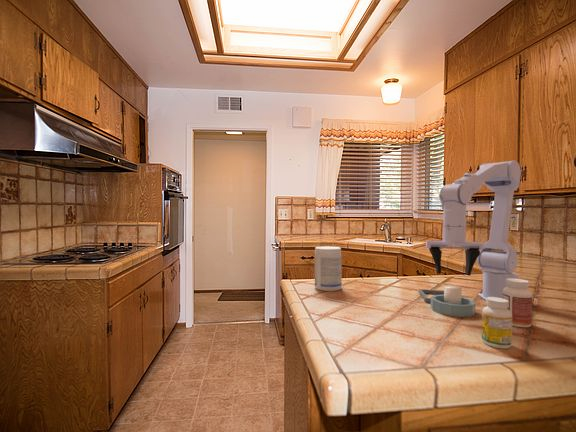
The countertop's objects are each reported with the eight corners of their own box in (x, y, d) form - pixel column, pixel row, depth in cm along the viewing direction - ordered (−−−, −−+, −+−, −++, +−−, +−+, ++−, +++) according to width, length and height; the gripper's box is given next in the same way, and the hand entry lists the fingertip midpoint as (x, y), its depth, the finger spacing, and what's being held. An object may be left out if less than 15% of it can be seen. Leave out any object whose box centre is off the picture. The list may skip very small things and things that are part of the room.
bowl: (467, 306, 96) (467, 296, 95) (480, 318, 85) (480, 307, 85) (427, 303, 98) (427, 293, 98) (435, 314, 87) (436, 303, 87)
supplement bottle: (509, 351, 65) (511, 304, 65) (479, 344, 68) (480, 299, 68) (512, 343, 69) (514, 299, 69) (483, 336, 73) (485, 294, 72)
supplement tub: (346, 288, 115) (347, 247, 114) (330, 293, 108) (330, 250, 108) (325, 284, 122) (326, 245, 121) (308, 288, 115) (309, 247, 115)
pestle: (458, 306, 93) (459, 286, 93) (463, 311, 89) (463, 289, 89) (442, 305, 94) (442, 285, 94) (445, 309, 90) (446, 288, 90)
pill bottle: (536, 325, 80) (537, 281, 80) (525, 330, 77) (526, 284, 77) (508, 318, 85) (509, 276, 85) (497, 322, 82) (498, 279, 82)
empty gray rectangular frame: (456, 294, 108) (456, 291, 108) (468, 305, 96) (468, 301, 96) (418, 292, 111) (418, 288, 111) (425, 302, 99) (425, 298, 99)
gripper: (429, 226, 89) (428, 275, 89) (488, 227, 85) (486, 278, 86) (424, 225, 95) (423, 270, 96) (478, 226, 92) (477, 273, 93)
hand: (453, 274), depth 91 cm, fingers open, 7 cm apart
